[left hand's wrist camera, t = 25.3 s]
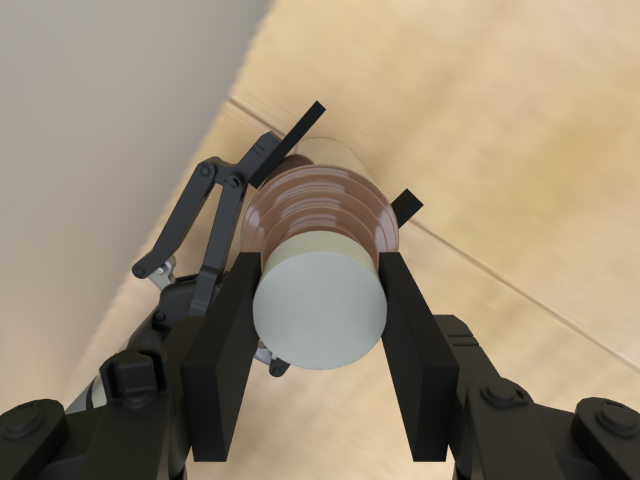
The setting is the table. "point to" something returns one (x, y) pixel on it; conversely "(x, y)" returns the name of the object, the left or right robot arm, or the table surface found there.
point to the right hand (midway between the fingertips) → (369, 152)
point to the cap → (319, 301)
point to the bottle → (320, 202)
